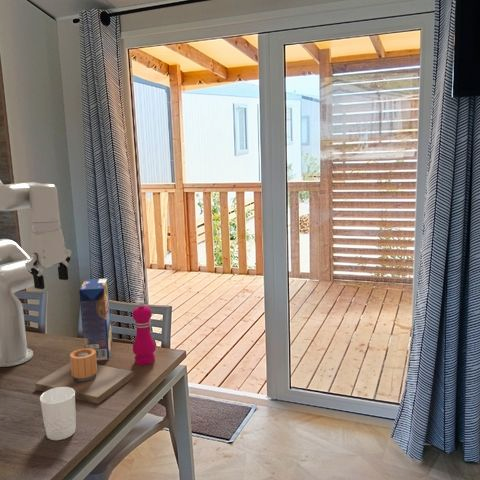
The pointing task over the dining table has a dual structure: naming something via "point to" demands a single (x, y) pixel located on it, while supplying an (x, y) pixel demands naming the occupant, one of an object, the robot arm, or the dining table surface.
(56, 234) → the robot arm
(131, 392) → the dining table surface
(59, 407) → the white cup
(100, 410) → the dining table surface
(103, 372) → the post board
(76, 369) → the ring
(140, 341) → the pepper mill
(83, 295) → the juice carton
